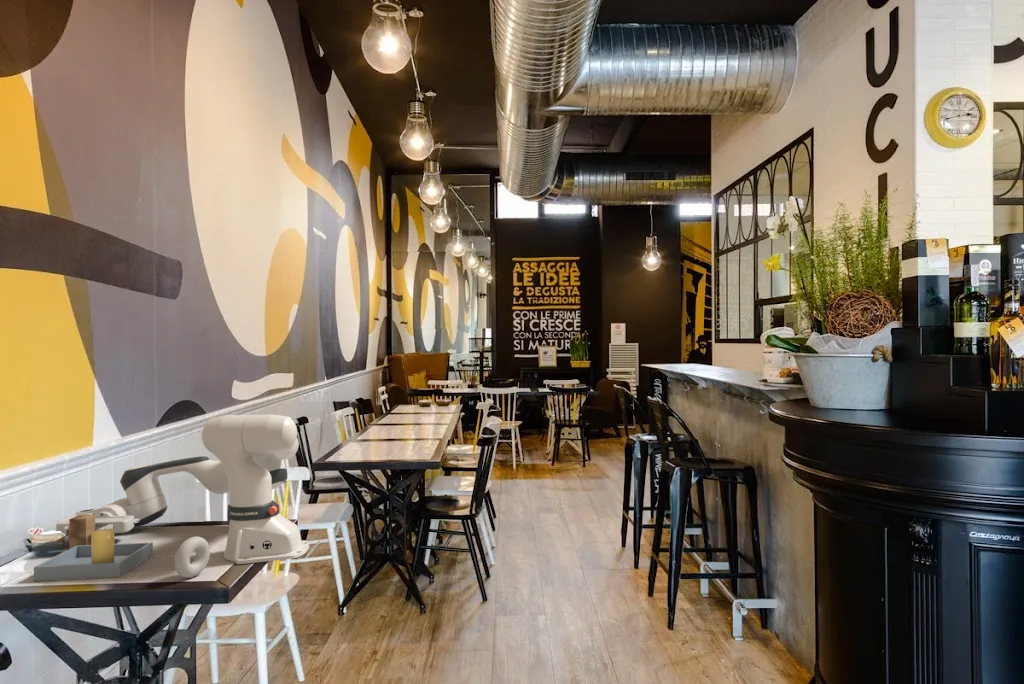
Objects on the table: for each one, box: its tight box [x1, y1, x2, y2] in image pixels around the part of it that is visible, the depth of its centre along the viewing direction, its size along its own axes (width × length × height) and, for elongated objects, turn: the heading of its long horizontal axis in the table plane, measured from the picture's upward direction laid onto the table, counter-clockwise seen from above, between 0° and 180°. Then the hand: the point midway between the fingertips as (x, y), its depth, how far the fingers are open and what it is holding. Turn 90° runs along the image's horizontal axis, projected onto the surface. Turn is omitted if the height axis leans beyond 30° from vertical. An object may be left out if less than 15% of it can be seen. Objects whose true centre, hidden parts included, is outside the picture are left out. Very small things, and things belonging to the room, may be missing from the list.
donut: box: [174, 535, 211, 579], centre depth 159 cm, size 10×4×10 cm, turn 162°
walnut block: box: [69, 515, 95, 549], centre depth 181 cm, size 4×4×10 cm
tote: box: [33, 541, 154, 582], centre depth 167 cm, size 20×18×4 cm
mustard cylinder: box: [91, 529, 115, 564], centre depth 163 cm, size 5×5×10 cm
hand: (81, 532), depth 180 cm, fingers open, 8 cm apart
